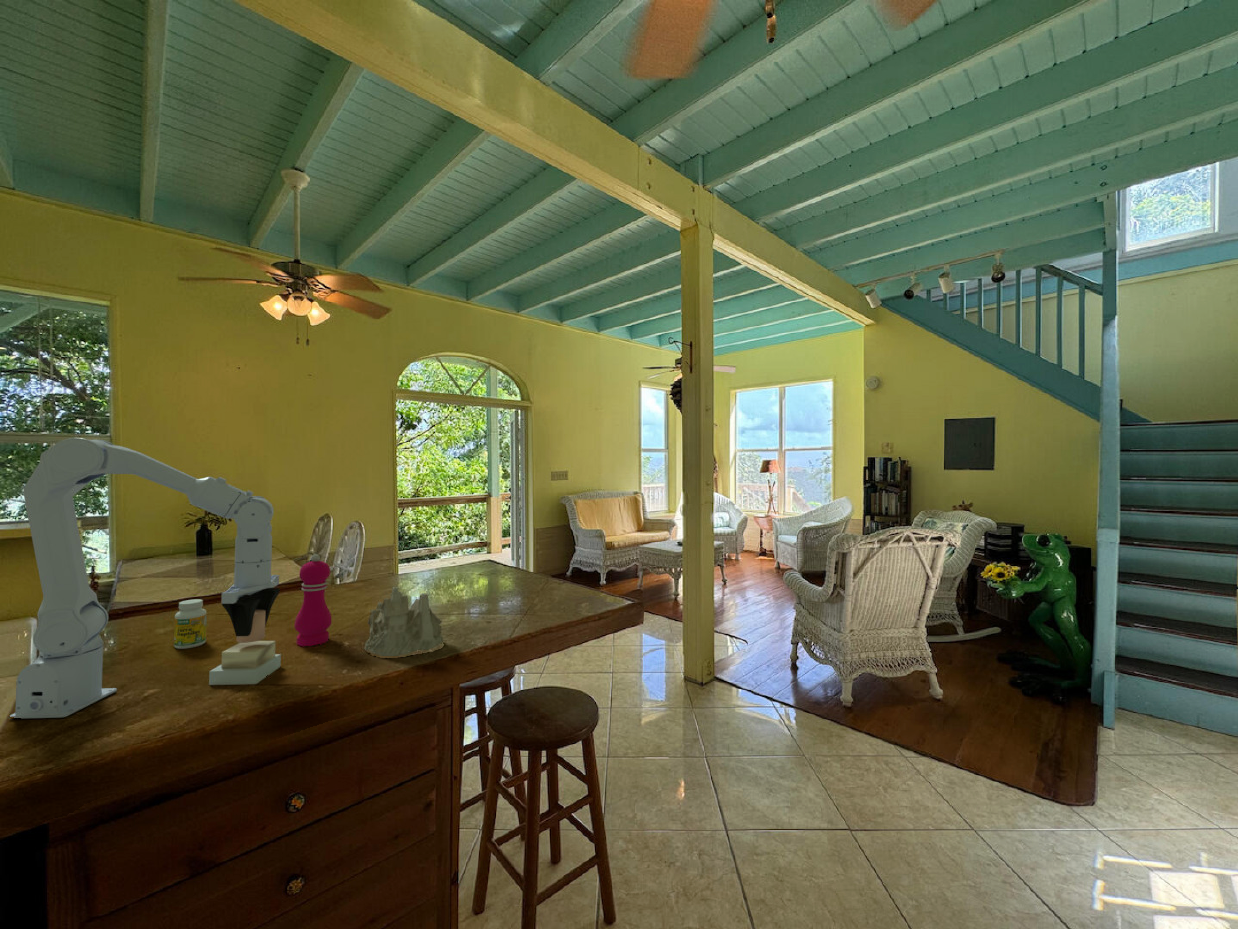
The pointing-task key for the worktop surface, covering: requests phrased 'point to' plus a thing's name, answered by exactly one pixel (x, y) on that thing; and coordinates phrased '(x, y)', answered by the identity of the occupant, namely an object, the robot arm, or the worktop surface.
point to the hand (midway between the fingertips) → (251, 631)
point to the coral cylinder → (255, 628)
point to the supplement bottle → (190, 624)
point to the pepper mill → (313, 604)
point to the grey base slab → (243, 673)
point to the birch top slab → (248, 654)
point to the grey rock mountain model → (403, 626)
